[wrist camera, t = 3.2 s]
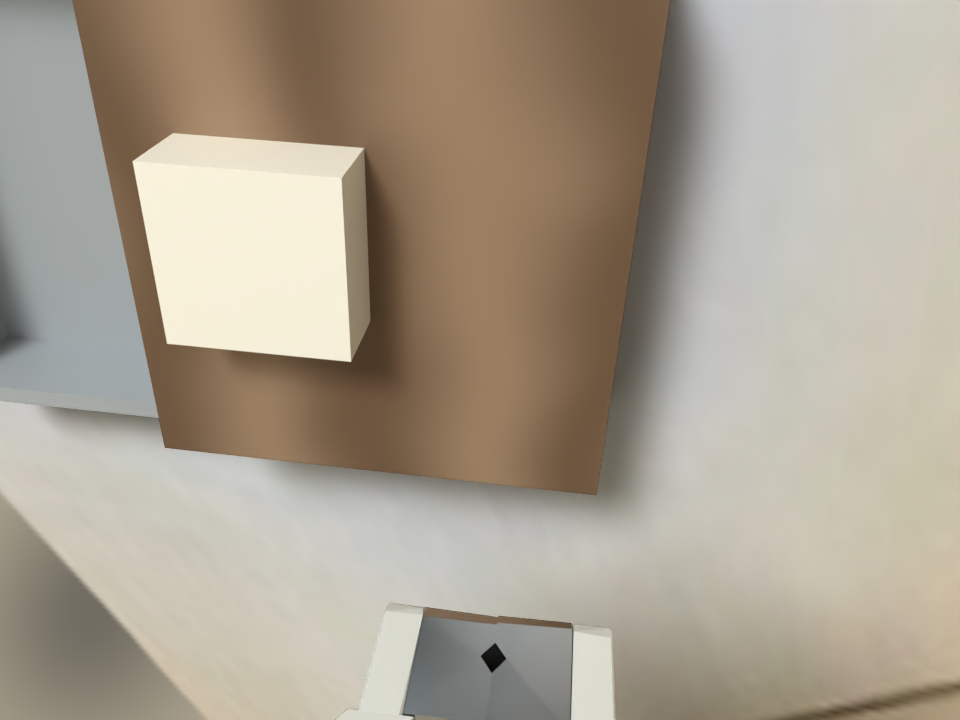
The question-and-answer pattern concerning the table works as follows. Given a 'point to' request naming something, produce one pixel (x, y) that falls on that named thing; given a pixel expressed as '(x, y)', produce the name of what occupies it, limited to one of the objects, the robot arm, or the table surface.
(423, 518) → the table surface
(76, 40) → the box
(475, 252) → the walnut block
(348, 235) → the tile
